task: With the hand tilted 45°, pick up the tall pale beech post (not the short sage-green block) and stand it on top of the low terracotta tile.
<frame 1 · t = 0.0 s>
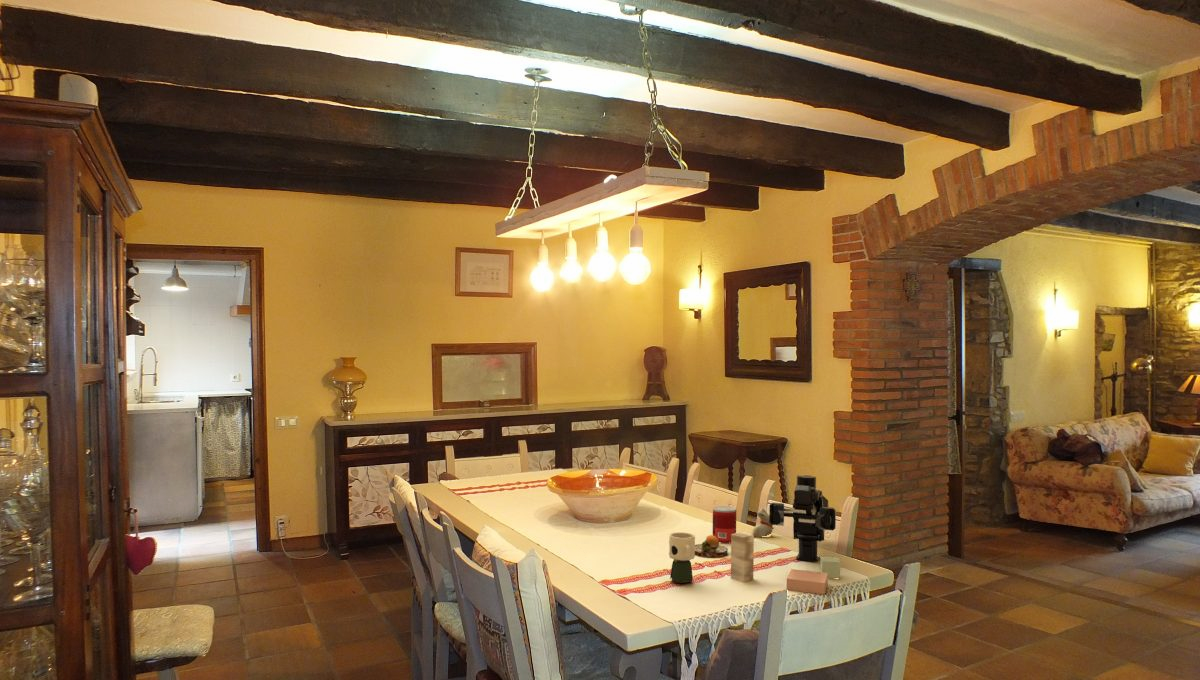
hand: (798, 521, 215), 17 cm above the table, tool horizontal, fingers open, 9 cm apart
sage block: (830, 576, 219), on the table
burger: (709, 554, 243), on the table
grey plush toy: (762, 536, 267), on the table
canned food: (724, 541, 260), on the table
character mug: (681, 582, 211), on the table
terracotta tile: (807, 586, 209), on the table
beech post: (742, 578, 215), on the table
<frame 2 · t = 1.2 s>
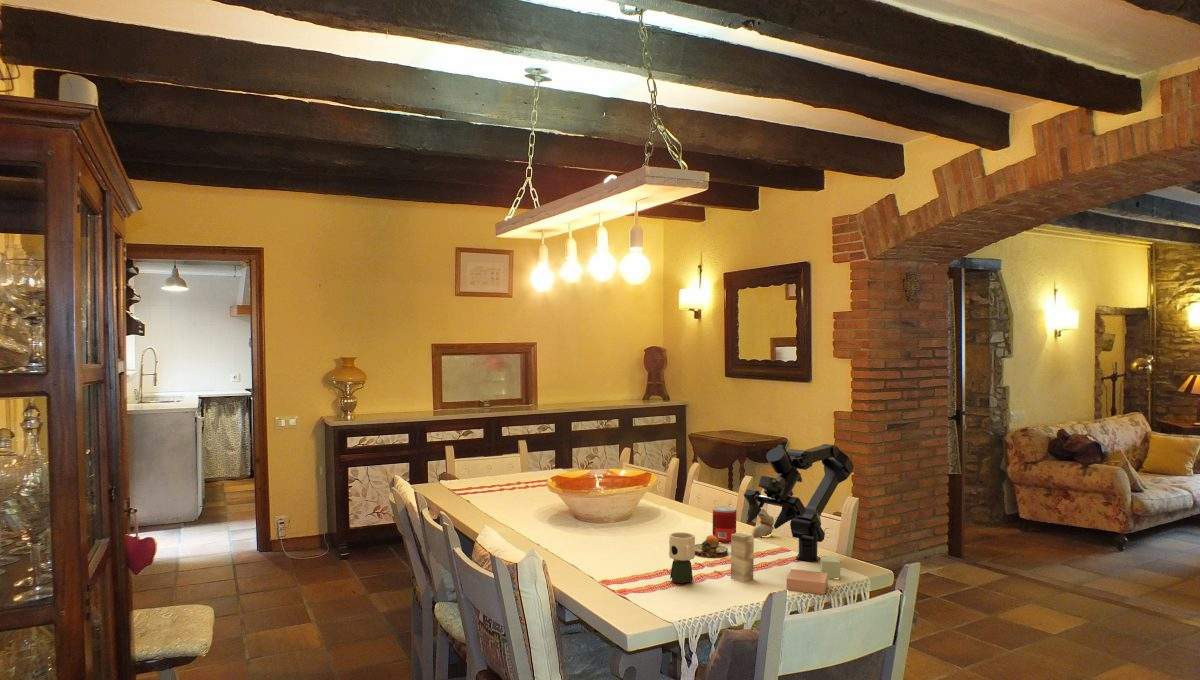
hand: (761, 524, 222), 14 cm above the table, tool tilted 45°, fingers open, 9 cm apart
nothing on the table moved.
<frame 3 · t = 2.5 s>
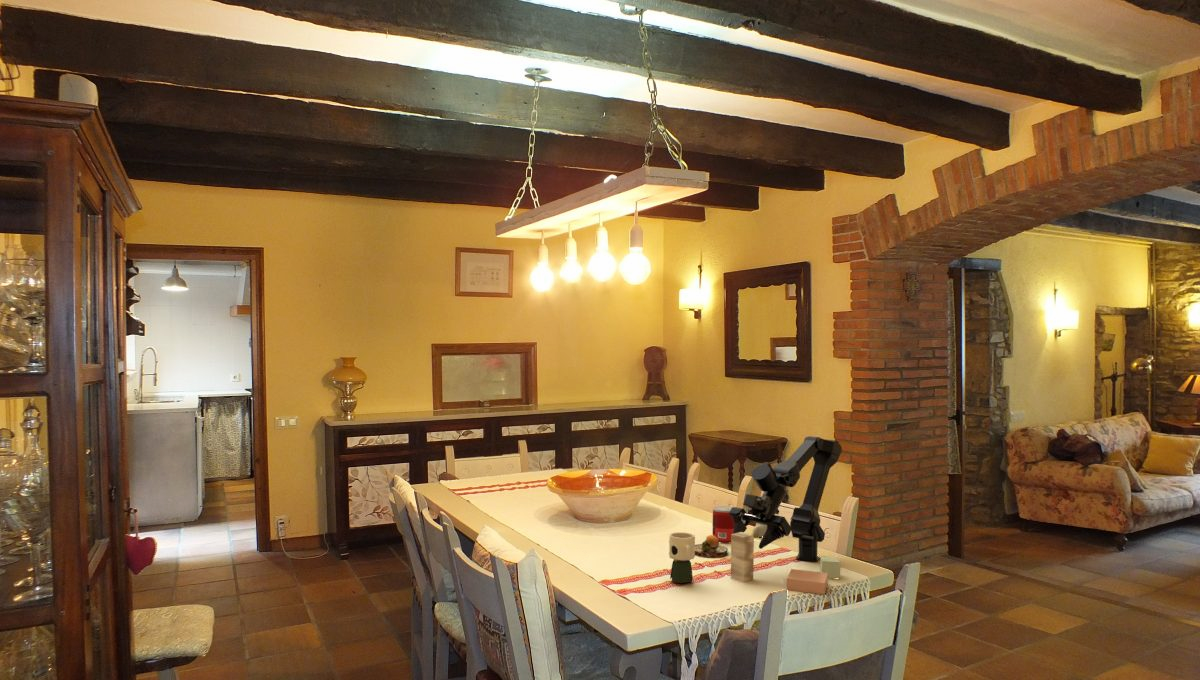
hand: (746, 544, 217), 9 cm above the table, tool tilted 45°, fingers open, 9 cm apart
nothing on the table moved.
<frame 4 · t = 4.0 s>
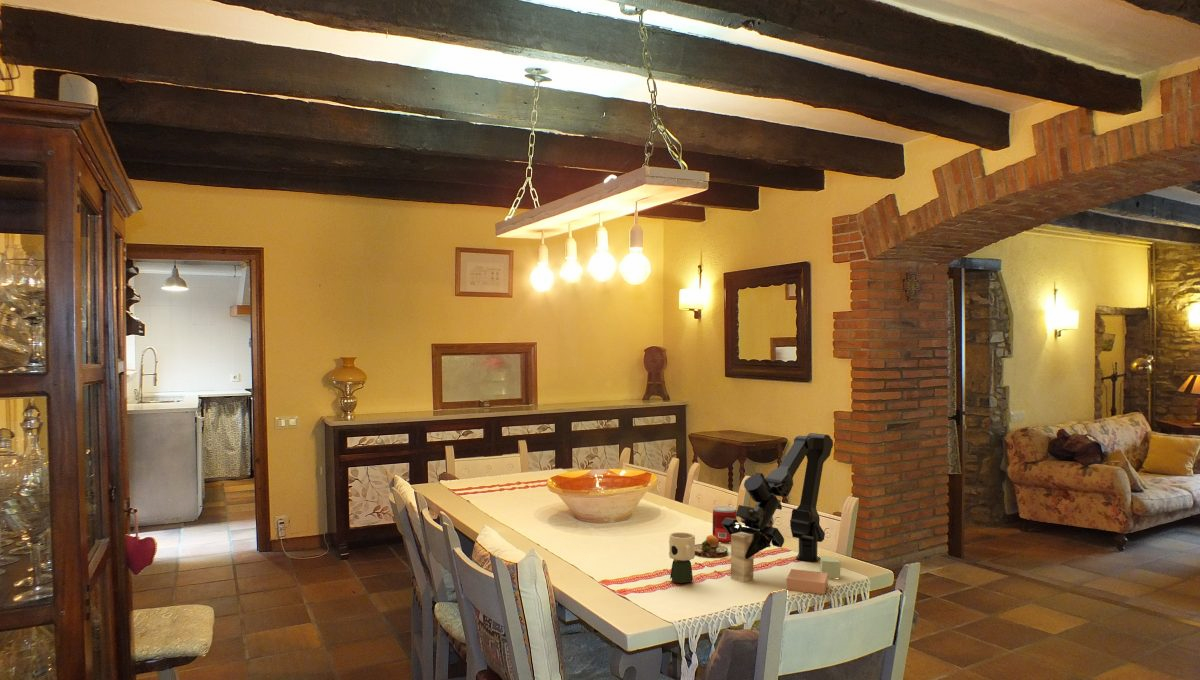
hand: (739, 556, 215), 7 cm above the table, tool tilted 45°, fingers closed on beech post, 4 cm apart
beech post: (741, 578, 215), on the table, touching gripper
everything else where it was.
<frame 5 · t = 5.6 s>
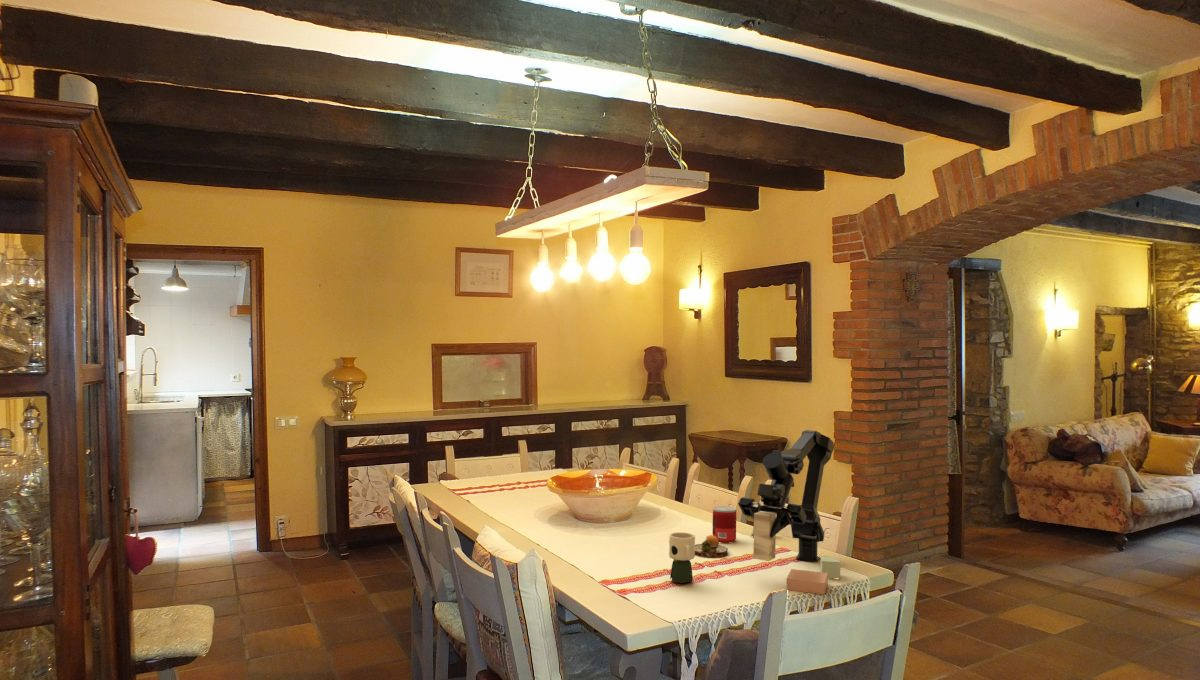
hand: (762, 535, 211), 13 cm above the table, tool tilted 45°, fingers closed on beech post, 4 cm apart
beech post: (764, 558, 212), point 7 cm above the table, touching gripper
everything else where it was.
when the fingers open (10 cm above the table, at t = 7.5 s): beech post stays where it is, resting on terracotta tile.
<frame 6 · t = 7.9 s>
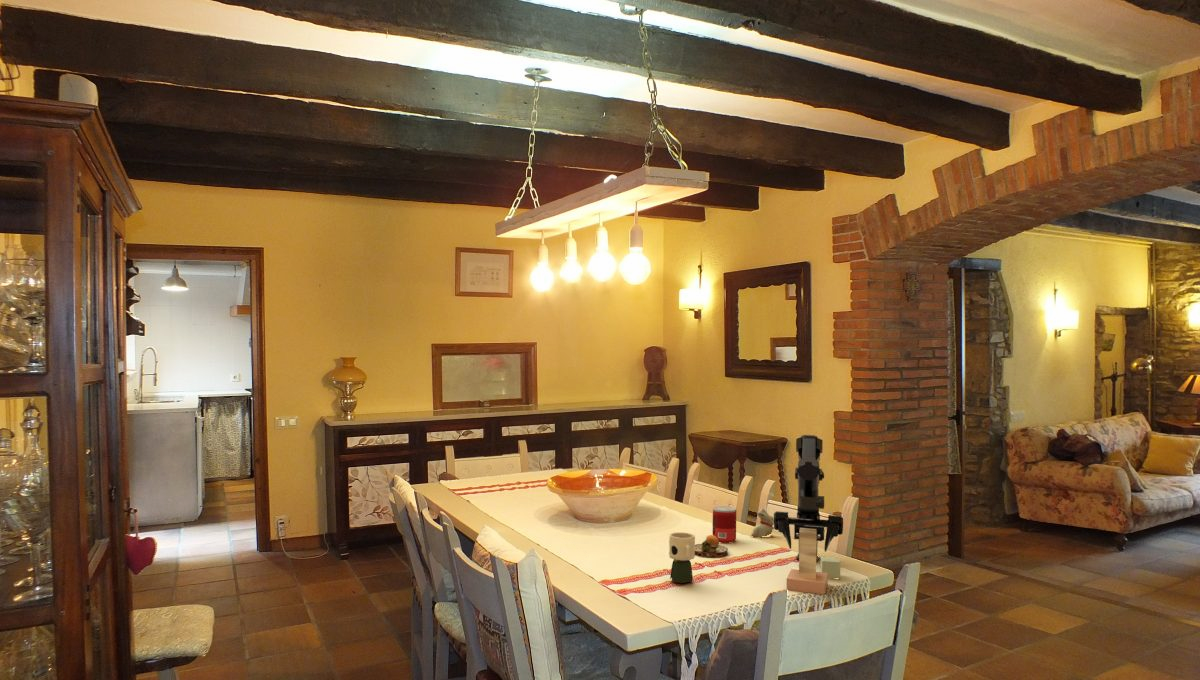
hand: (807, 549, 208), 11 cm above the table, tool tilted 45°, fingers open, 9 cm apart
beech post: (807, 575, 209), point 3 cm above the table, touching terracotta tile
everything else where it was.
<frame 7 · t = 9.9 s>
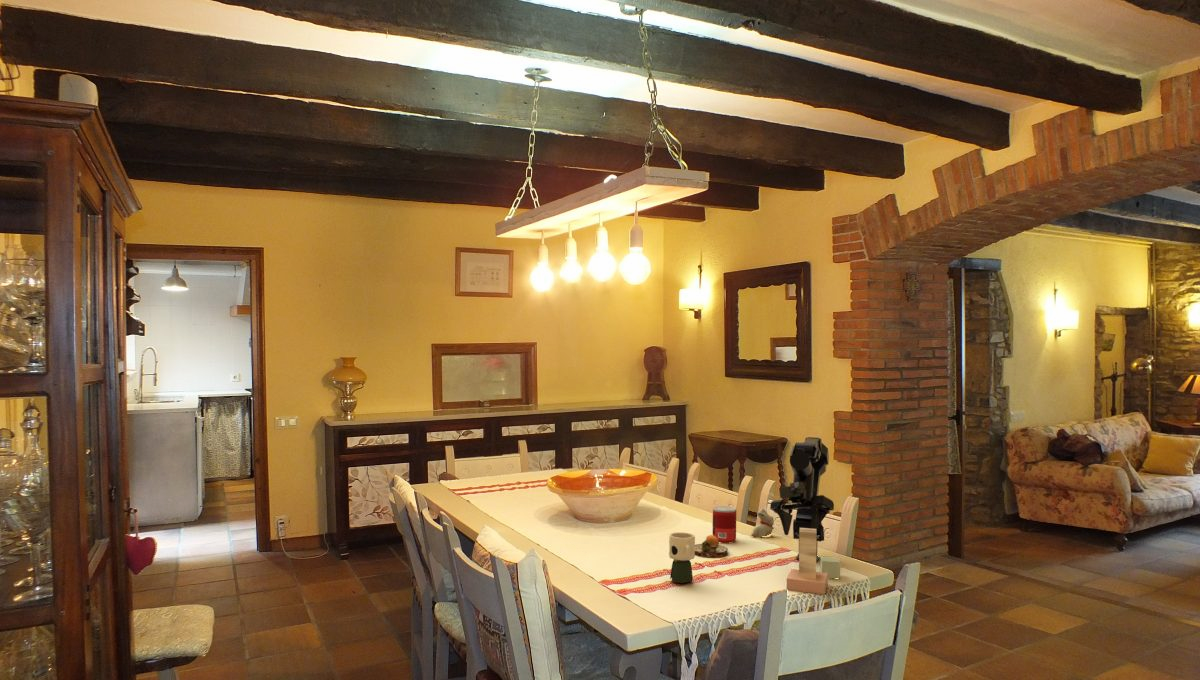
hand: (799, 533, 219), 12 cm above the table, tool tilted 30°, fingers open, 9 cm apart
nothing on the table moved.
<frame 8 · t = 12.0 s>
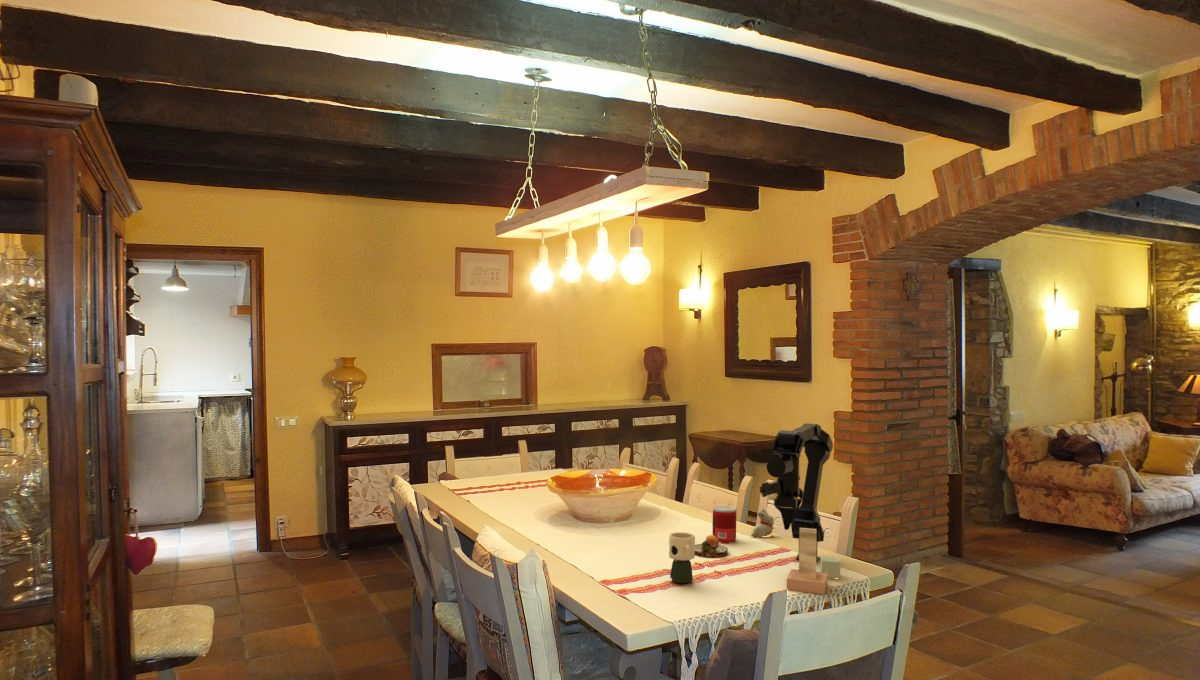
hand: (788, 526, 225), 13 cm above the table, tool pointing down, fingers open, 9 cm apart
nothing on the table moved.
at the end: beech post inside the target area on the terracotta tile (0.0 cm from its centre), point 3.0 cm above the terracotta tile's base; beech post tilted 0°; the gripper is holding nothing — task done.
